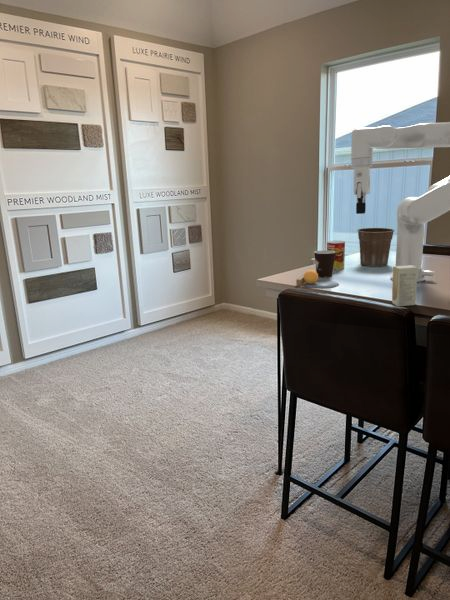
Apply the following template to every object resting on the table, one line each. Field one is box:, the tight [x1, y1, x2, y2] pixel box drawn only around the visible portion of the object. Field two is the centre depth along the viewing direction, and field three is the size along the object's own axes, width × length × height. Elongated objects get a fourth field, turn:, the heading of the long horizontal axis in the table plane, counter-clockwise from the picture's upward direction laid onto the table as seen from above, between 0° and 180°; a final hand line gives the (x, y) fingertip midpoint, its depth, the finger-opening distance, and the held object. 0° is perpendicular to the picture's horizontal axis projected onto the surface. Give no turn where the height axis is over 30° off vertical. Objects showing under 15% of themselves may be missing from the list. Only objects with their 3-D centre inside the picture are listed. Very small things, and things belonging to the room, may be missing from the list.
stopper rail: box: [295, 274, 306, 287], centre depth 177 cm, size 2×10×2 cm, turn 154°
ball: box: [303, 269, 319, 284], centre depth 175 cm, size 6×6×6 cm
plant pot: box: [356, 227, 395, 268], centre depth 207 cm, size 16×16×16 cm
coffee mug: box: [313, 250, 335, 278], centre depth 190 cm, size 12×9×10 cm
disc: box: [304, 279, 340, 289], centre depth 174 cm, size 13×13×1 cm
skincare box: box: [391, 265, 418, 307], centre depth 142 cm, size 6×4×12 cm
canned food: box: [326, 240, 346, 270], centre depth 203 cm, size 8×8×12 cm
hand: (360, 213), depth 172 cm, fingers closed
